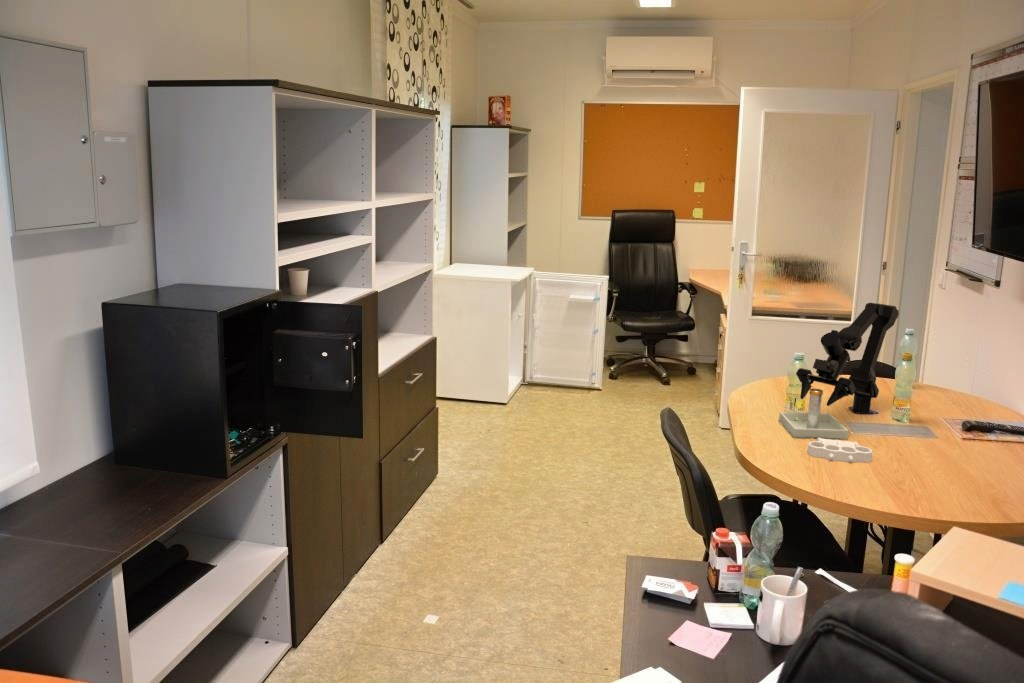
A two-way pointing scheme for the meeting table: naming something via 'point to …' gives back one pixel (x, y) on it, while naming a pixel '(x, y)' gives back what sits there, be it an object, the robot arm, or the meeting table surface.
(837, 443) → the white brass knuckles
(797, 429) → the tray
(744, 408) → the meeting table surface
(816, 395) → the grey cylinder
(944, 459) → the meeting table surface
